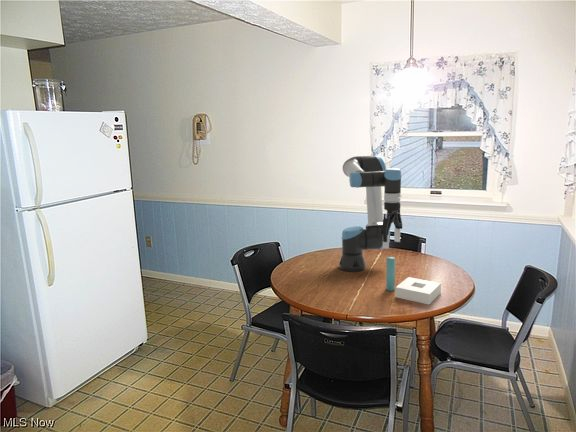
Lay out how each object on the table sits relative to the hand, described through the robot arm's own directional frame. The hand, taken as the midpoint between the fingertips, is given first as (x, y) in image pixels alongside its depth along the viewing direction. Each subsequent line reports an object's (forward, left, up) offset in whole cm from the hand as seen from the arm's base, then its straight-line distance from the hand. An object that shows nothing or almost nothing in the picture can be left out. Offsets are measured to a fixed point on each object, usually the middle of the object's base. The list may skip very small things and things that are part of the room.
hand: (391, 244), depth 205 cm
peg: (0, 0, -23) cm, 23 cm away
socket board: (+14, 0, -23) cm, 27 cm away
